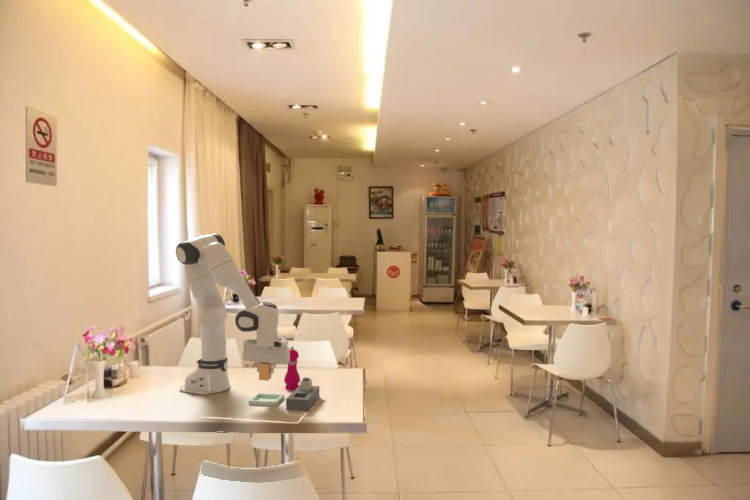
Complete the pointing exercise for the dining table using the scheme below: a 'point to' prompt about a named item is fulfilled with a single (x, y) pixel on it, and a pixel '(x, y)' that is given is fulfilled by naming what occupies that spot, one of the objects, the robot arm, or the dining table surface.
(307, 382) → the twin plug
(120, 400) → the dining table surface
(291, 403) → the socket strip
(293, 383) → the pepper mill
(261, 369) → the plug
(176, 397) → the dining table surface
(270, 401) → the tray
